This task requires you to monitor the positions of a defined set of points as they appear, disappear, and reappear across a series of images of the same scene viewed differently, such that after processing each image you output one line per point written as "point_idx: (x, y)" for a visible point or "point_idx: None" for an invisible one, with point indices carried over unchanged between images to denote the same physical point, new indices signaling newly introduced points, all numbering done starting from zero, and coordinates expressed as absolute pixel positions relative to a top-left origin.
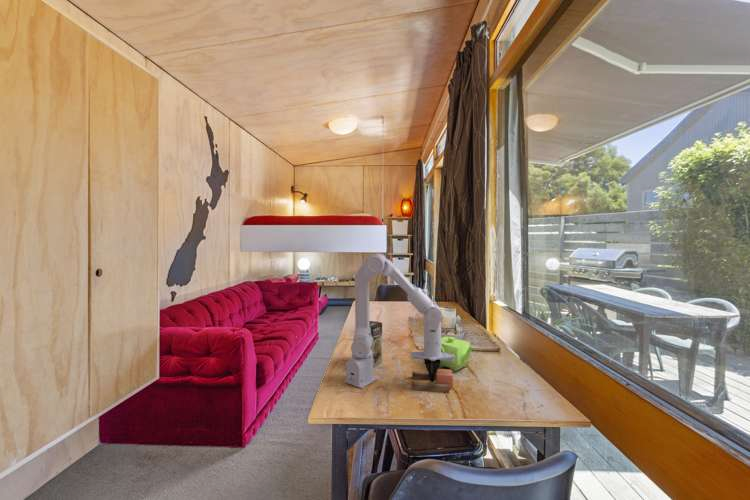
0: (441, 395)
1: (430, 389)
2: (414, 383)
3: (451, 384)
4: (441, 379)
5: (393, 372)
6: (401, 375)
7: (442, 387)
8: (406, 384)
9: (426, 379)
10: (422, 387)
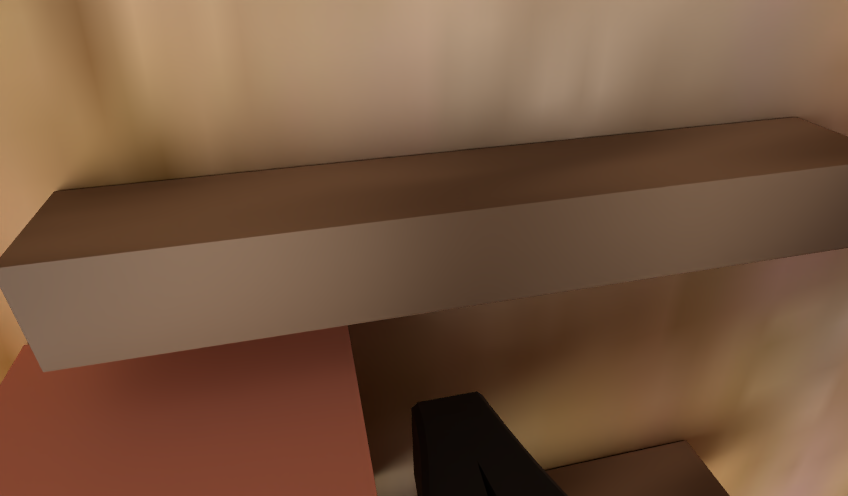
0: (210, 17)
1: (476, 166)
2: (832, 199)
3: (5, 421)
4: (248, 460)
5: (844, 489)
6: (784, 465)
7: (199, 225)
8: (802, 281)
9: None
10: (651, 158)
